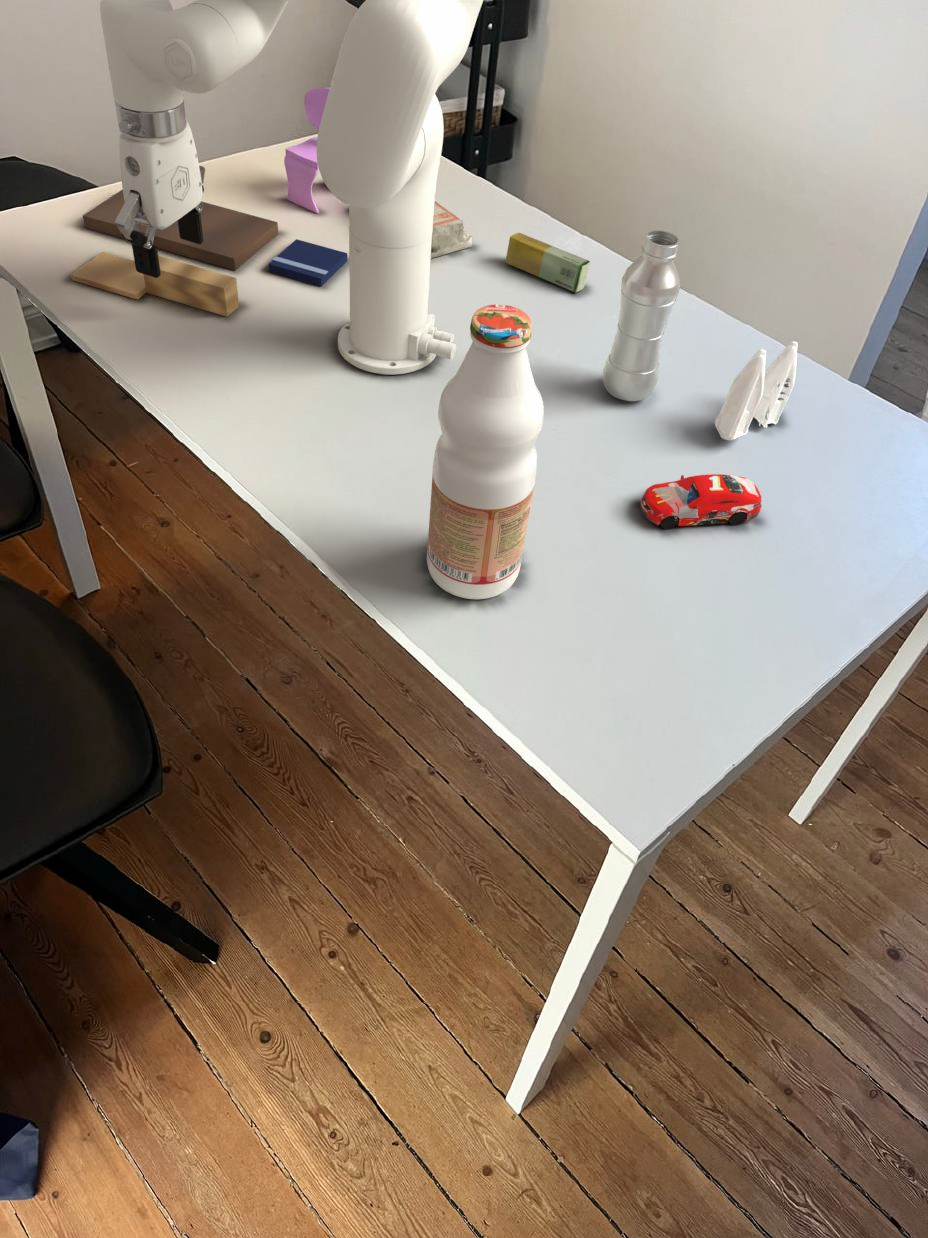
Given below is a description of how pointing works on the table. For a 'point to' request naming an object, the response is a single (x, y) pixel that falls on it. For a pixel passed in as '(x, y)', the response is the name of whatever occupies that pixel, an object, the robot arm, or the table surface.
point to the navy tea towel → (308, 262)
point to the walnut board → (223, 231)
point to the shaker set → (758, 393)
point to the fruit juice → (485, 459)
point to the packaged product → (447, 233)
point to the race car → (702, 501)
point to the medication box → (547, 262)
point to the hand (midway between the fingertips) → (170, 256)
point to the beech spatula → (162, 282)
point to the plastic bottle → (643, 318)
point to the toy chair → (305, 154)
